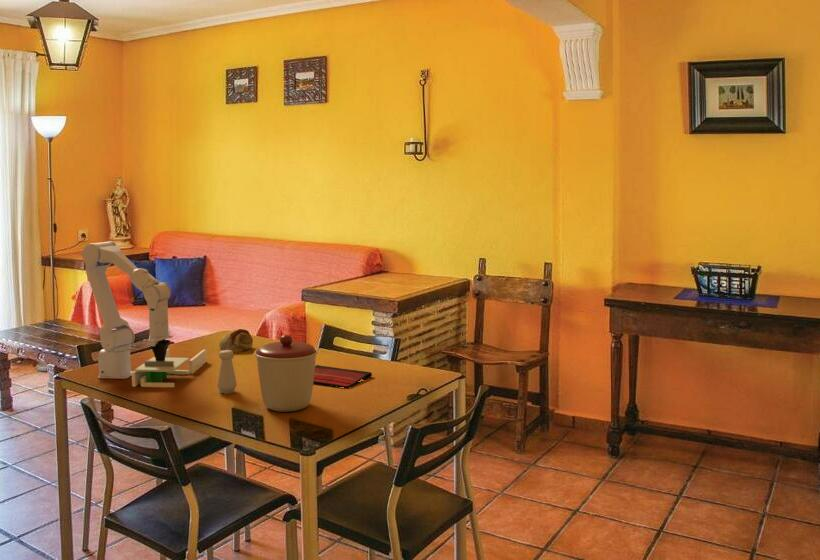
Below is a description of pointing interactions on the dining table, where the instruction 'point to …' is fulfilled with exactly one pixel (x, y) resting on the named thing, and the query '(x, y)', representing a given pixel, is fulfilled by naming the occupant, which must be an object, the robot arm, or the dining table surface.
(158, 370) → the door
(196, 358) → the housing
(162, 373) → the pipe clamp
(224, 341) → the pastry
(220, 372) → the salt shaker
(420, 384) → the dining table surface
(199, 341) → the dining table surface
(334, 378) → the binder
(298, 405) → the canister
